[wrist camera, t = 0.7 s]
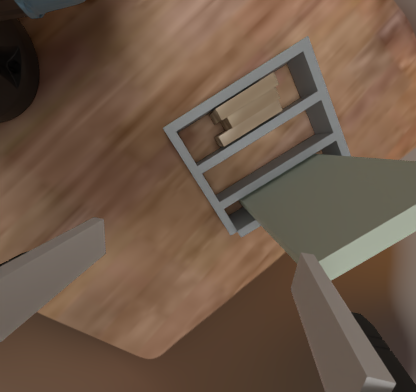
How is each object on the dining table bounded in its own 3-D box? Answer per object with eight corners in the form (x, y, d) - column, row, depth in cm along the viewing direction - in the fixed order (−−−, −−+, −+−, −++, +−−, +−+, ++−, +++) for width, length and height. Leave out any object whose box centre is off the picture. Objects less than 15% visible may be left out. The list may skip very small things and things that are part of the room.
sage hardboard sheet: (235, 194, 33) (309, 267, 13) (303, 152, 32) (480, 166, 13) (240, 204, 33) (319, 287, 14) (307, 163, 33) (484, 191, 13)
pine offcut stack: (203, 119, 29) (208, 113, 23) (255, 86, 29) (273, 71, 23) (218, 146, 30) (226, 146, 25) (268, 115, 30) (289, 108, 24)
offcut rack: (165, 130, 29) (160, 126, 23) (291, 50, 28) (318, 26, 22) (225, 225, 34) (233, 241, 28) (333, 159, 33) (364, 163, 27)
